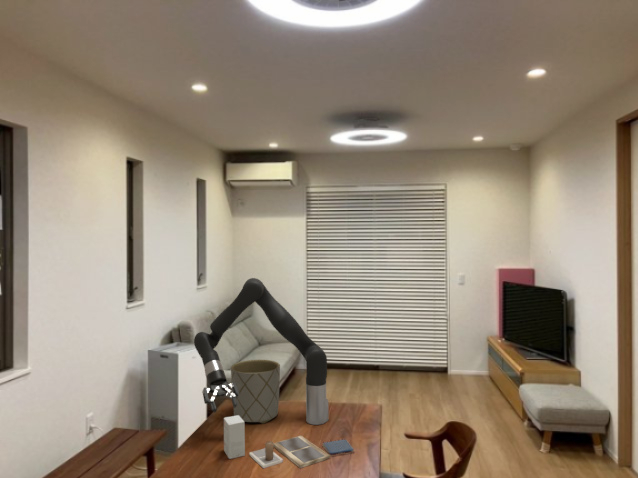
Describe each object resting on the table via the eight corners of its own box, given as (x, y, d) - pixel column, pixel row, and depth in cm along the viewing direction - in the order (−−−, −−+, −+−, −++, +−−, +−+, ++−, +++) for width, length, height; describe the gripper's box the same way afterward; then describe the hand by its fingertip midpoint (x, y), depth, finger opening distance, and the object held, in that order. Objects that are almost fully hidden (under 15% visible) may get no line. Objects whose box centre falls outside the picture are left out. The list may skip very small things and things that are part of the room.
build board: (301, 438, 191) (301, 435, 191) (329, 458, 173) (329, 454, 173) (273, 446, 183) (273, 443, 183) (300, 468, 166) (300, 464, 166)
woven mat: (345, 442, 187) (345, 437, 187) (355, 454, 177) (355, 449, 177) (321, 446, 184) (321, 441, 184) (329, 458, 174) (329, 453, 174)
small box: (245, 455, 176) (244, 421, 176) (229, 459, 173) (228, 424, 173) (239, 447, 183) (239, 414, 183) (223, 450, 180) (223, 417, 180)
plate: (268, 449, 181) (267, 431, 180) (282, 462, 170) (282, 443, 170) (249, 455, 176) (249, 436, 176) (263, 468, 166) (263, 448, 166)
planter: (222, 423, 207) (221, 371, 207) (244, 405, 229) (244, 358, 229) (269, 428, 201) (268, 374, 201) (287, 409, 223) (287, 361, 222)
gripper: (200, 371, 189) (210, 408, 179) (233, 366, 197) (244, 400, 187) (196, 381, 193) (206, 417, 184) (228, 375, 201) (239, 409, 192)
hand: (225, 409), depth 185 cm, fingers open, 8 cm apart
